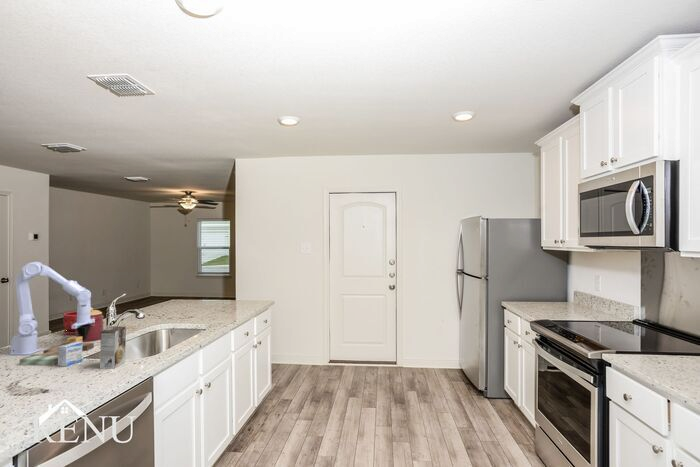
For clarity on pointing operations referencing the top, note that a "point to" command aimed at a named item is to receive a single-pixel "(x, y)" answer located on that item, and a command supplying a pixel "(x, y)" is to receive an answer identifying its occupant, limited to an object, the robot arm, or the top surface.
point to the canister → (94, 326)
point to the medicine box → (69, 354)
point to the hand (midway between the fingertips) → (83, 339)
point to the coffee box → (112, 347)
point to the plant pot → (69, 324)
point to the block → (74, 339)
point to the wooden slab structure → (49, 356)
